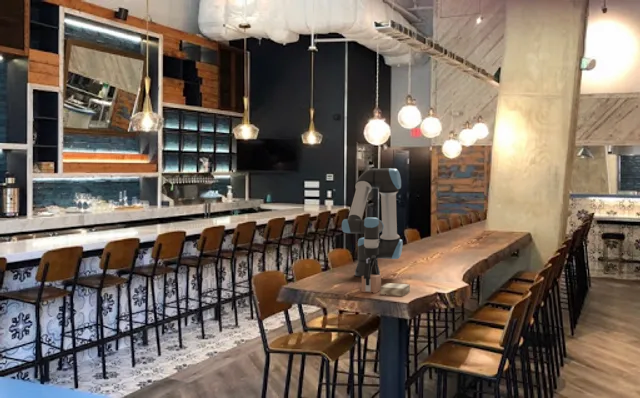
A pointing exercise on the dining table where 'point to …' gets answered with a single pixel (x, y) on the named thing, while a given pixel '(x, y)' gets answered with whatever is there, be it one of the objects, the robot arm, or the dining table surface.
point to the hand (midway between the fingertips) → (371, 289)
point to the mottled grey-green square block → (395, 289)
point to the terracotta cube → (373, 283)
